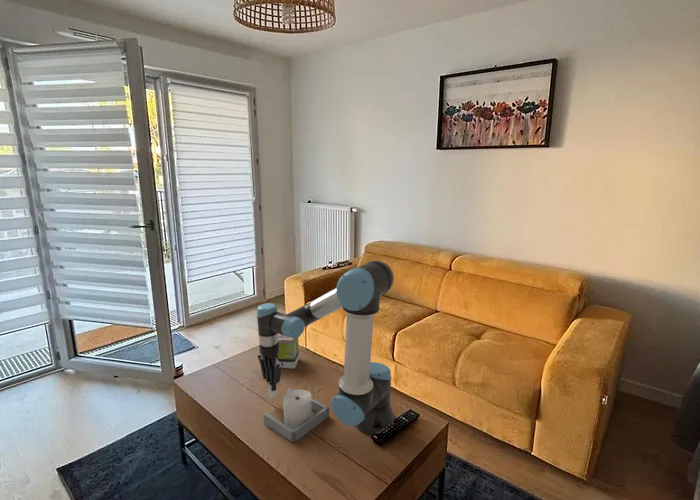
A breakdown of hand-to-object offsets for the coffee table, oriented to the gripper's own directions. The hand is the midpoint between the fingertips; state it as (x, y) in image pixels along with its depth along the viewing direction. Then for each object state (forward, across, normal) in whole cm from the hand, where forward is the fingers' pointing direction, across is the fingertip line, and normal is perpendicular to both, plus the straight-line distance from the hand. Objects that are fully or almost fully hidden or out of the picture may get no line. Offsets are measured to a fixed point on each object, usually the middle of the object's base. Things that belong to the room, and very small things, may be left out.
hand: (272, 396), depth 156 cm
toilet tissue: (+4, -14, 0) cm, 15 cm away
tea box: (+4, +22, -24) cm, 33 cm away
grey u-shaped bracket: (+4, -14, 0) cm, 14 cm away
